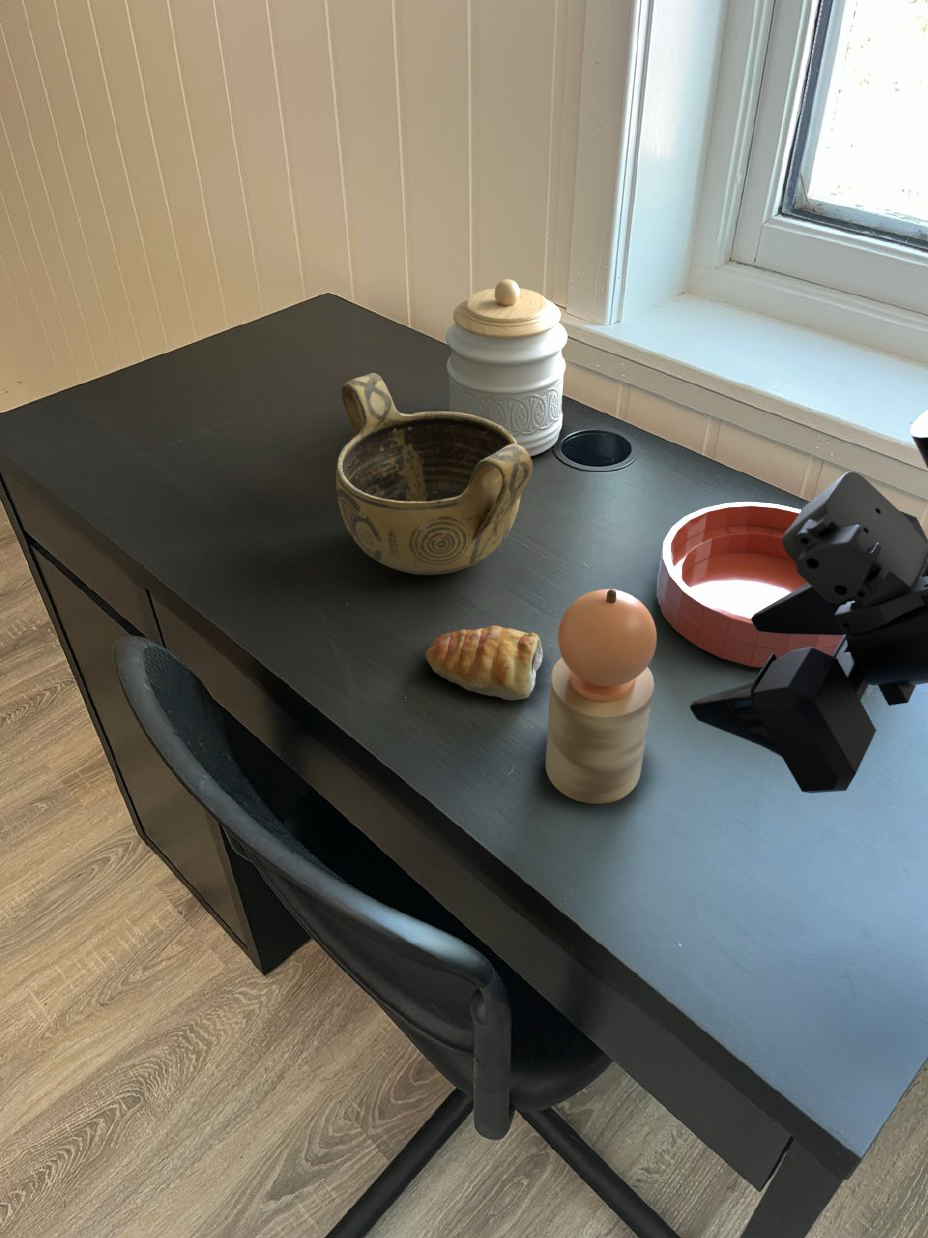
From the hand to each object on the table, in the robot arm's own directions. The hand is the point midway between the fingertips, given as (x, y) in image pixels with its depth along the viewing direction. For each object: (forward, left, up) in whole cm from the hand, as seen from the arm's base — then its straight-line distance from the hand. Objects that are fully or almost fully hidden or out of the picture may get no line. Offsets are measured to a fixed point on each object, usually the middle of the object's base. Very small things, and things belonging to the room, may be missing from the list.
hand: (725, 665), depth 56 cm
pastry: (+19, -8, -15) cm, 26 cm away
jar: (+34, -45, -15) cm, 58 cm away
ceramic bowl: (+31, -21, -15) cm, 40 cm away
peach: (+8, -2, -6) cm, 10 cm away
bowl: (+1, -26, -15) cm, 30 cm away
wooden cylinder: (+8, -2, -15) cm, 17 cm away
